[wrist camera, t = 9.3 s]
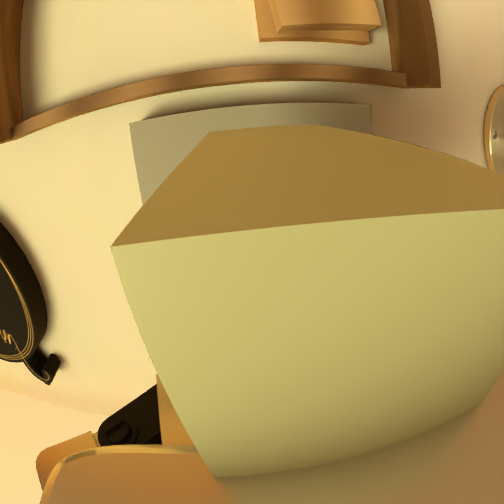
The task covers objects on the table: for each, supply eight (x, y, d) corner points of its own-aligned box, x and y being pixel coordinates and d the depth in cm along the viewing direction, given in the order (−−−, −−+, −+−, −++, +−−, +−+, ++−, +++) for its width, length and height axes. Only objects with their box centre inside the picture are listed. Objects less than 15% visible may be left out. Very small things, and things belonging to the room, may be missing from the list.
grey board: (355, 104, 19) (370, 104, 17) (351, 267, 26) (362, 281, 23) (140, 121, 19) (129, 123, 17) (172, 286, 25) (167, 303, 23)
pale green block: (314, 124, 10) (567, 206, 2) (311, 353, 16) (362, 518, 7) (209, 131, 10) (109, 246, 1) (241, 363, 16) (258, 538, 7)
